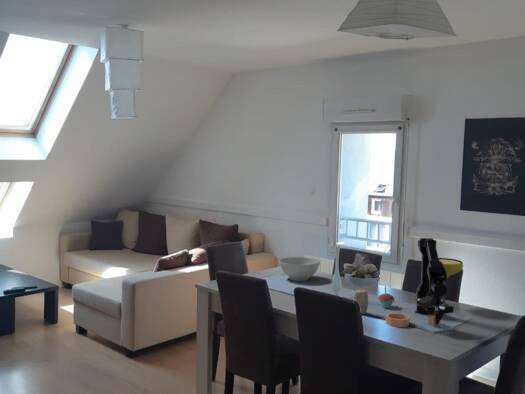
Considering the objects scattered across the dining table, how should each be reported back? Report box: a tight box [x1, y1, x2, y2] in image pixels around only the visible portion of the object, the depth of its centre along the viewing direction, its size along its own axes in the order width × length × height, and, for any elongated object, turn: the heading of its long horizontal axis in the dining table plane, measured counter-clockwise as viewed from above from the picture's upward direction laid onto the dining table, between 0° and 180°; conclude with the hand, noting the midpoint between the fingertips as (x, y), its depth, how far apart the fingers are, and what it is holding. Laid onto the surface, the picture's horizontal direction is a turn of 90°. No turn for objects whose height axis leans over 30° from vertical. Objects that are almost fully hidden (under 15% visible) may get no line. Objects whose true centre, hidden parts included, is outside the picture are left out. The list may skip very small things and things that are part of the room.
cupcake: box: [378, 285, 395, 309], centre depth 298 cm, size 9×8×12 cm
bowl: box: [385, 312, 411, 328], centre depth 268 cm, size 11×11×4 cm
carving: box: [353, 288, 369, 315], centre depth 286 cm, size 6×8×12 cm
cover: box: [413, 313, 455, 334], centre depth 262 cm, size 13×13×6 cm
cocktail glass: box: [438, 257, 464, 309], centre depth 300 cm, size 18×18×25 cm
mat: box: [411, 323, 458, 335], centre depth 263 cm, size 15×15×1 cm
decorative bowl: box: [278, 256, 321, 282], centre depth 361 cm, size 27×27×12 cm
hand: (434, 322), depth 262 cm, fingers closed on cover, 4 cm apart
